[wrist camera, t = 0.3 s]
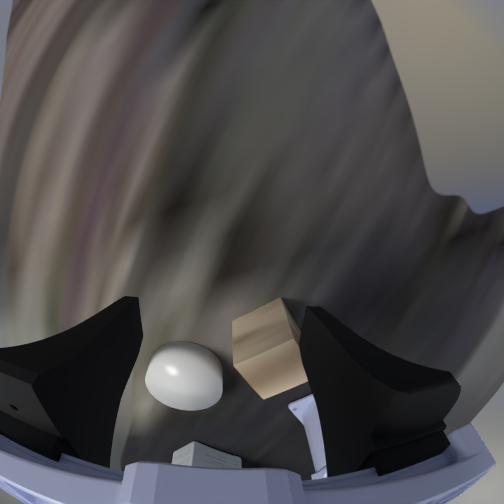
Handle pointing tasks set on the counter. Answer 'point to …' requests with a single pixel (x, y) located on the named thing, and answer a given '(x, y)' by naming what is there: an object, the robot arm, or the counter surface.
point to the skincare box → (205, 457)
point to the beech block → (268, 349)
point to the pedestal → (185, 376)
